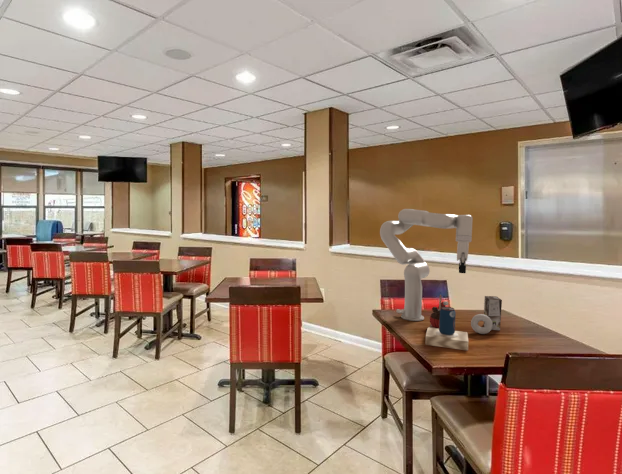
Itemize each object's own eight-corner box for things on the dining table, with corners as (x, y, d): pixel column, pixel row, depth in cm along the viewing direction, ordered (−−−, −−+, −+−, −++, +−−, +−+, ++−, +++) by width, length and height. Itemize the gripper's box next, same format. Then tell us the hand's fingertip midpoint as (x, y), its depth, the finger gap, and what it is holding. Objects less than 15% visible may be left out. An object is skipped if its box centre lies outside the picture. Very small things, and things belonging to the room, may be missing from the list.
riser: (425, 344, 167) (425, 335, 167) (427, 335, 180) (427, 326, 180) (468, 350, 161) (468, 341, 160) (467, 340, 174) (467, 331, 174)
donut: (492, 334, 184) (493, 314, 183) (492, 336, 181) (493, 316, 180) (470, 331, 188) (471, 312, 187) (470, 333, 185) (471, 313, 184)
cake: (425, 326, 194) (426, 293, 193) (439, 325, 197) (440, 292, 196) (438, 333, 184) (440, 297, 183) (453, 331, 187) (455, 296, 186)
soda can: (457, 335, 167) (458, 310, 167) (442, 336, 167) (443, 310, 166) (450, 331, 174) (451, 306, 173) (436, 331, 174) (437, 306, 173)
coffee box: (500, 330, 190) (502, 299, 189) (487, 329, 191) (489, 299, 190) (495, 325, 199) (497, 296, 198) (482, 324, 200) (484, 295, 199)
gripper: (455, 237, 198) (454, 268, 199) (455, 239, 182) (454, 273, 183) (470, 238, 195) (469, 270, 196) (472, 240, 179) (470, 274, 180)
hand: (462, 271), depth 190 cm, fingers open, 9 cm apart
